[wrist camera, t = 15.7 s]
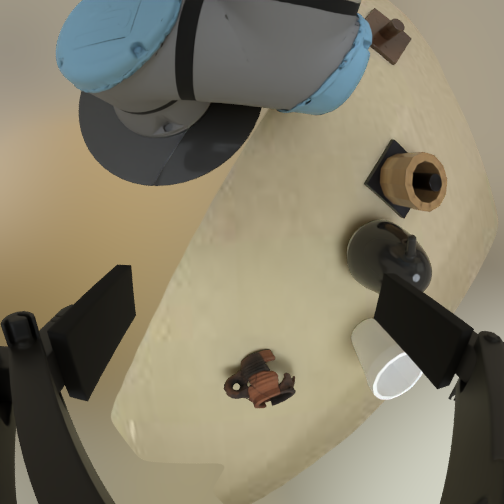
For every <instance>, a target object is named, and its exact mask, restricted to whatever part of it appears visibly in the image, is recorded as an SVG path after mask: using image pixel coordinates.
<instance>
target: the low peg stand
mask: <svg viewBox="0 0 504 504" xmlns="http://www.w3.org/2000/svg"><path fill="white" fill-rule="evenodd" d="M365 20H367V22H368V23H369V25H370V28H371V31H372V44H371V47H372V48H373V49H375V50H376V51H377V52H378V53H379V54H381V55H382V56H383V57H384V58H385V59H386V60H388V61H389V62H390V63H391V64H392V65H394V64H396V62H397V61H398V59H399V58H400V56H401V54H402V53H403V51H404V50H405V48H406V46H407V45H408V43H409V42H410V40H411V38H410V37H409V36H408V35H407V34H406V33H405V32H404V31H403V30H404V25H403V23H402V22H401V21H400V20H398V19H392V20H389V19H388V18H387V17H386V16H384V15H383V14H382V13H380V12H379V11H378V10H377V9H375V8H374V9H373V10H372V11H371V12H370V14H369V15H368V16H367V17H366V18H365Z"/></svg>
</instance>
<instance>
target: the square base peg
mask: <svg viewBox="0 0 504 504" xmlns="http://www.w3.org/2000/svg"><path fill="white" fill-rule="evenodd" d="M400 153H407V152H406V151H405V150H404V149H403V148H402V147H401V146H400V145H399V144H398V143H397V142H396V141H395V140H391V141H390V143H389V144H388V146H387V148H386V149H385V151H384V153H383V154H382V156H381V158H380V159H379V161H378V162H377V164H376V166H375V167H374V169H373V171H372V172H371V174H370V175H369V177H368V179H367V180H366V182H365V183H364V184H365V185H366V186H367V187H368V188H369V189H371V190H372V191H373V192H374V193H375V194H376V195H377V196H378V197H380V198H381V199H382V200H383V201H384V202H385V203H386V204H387V205H388V206H390V207H391V208H392V209H393V210H394V211H395V212H396V213H397V214H398V215H399V216H400V217H401V218H405V217H406V215H407V213H408V212H409V210H410V208H408V207H404V206H400V205H396V204H393V203H392V202H391V201H390V200H389V199H387V198H386V197H385V196H384V193H383V190H382V187H381V185H380V173H381V168H382V166H383V165H384V163H385V161H386V160H387V158H389V157H391V156H393V155H395V154H400ZM412 186H413V188H414V189H421V190H428V191H434V192H437V191H439V190H440V189H441V187H442V179H441V177H440V176H439V175H438V174H436V173H419V172H413V179H412Z"/></svg>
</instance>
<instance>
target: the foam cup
mask: <svg viewBox="0 0 504 504" xmlns="http://www.w3.org/2000/svg"><path fill="white" fill-rule="evenodd" d="M351 340H352V344H353V347H354V349H355V351H356V354H357V356H358V358H359V361H360V363H361V366H362V368H363V370H364V373H365V375H366V378H367V382H368V386H369V387H370V389H371V391H372V392H373V394H374V395H375V396H377V397H378V398H379V399H392V398H395V397H397V396H400V395H402V394H403V393H405V392H406V391H407V390H409V389H410V388H412V386H413V385H414V384H415V383H416V382H417V381H418V379H419V378H420V377H421V375H422V373H423V372H422V371H421V370H420V369H419V368H418V366H417V365H416V364H415V363H414V362H413V361H412V360H411V359H410V357H409V356H408V355H407V354H406V353H405V352H404V351H403V350H402V349H401V347H400V346H399V345H398V344H397V343H396V342H395V341H394V340H393V339H392V338H391V336H390V335H389V334H388V333H387V332H386V331H385V330H384V329H383V328H382V327H381V326H380V325H379V324H378V322H377V321H376V320H375V319H372V318H370V319H366V320H364V321H362V322H361V323H359V324H358V325H357V326H356V327H355V329H354V330H353V332H352V336H351Z"/></svg>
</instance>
